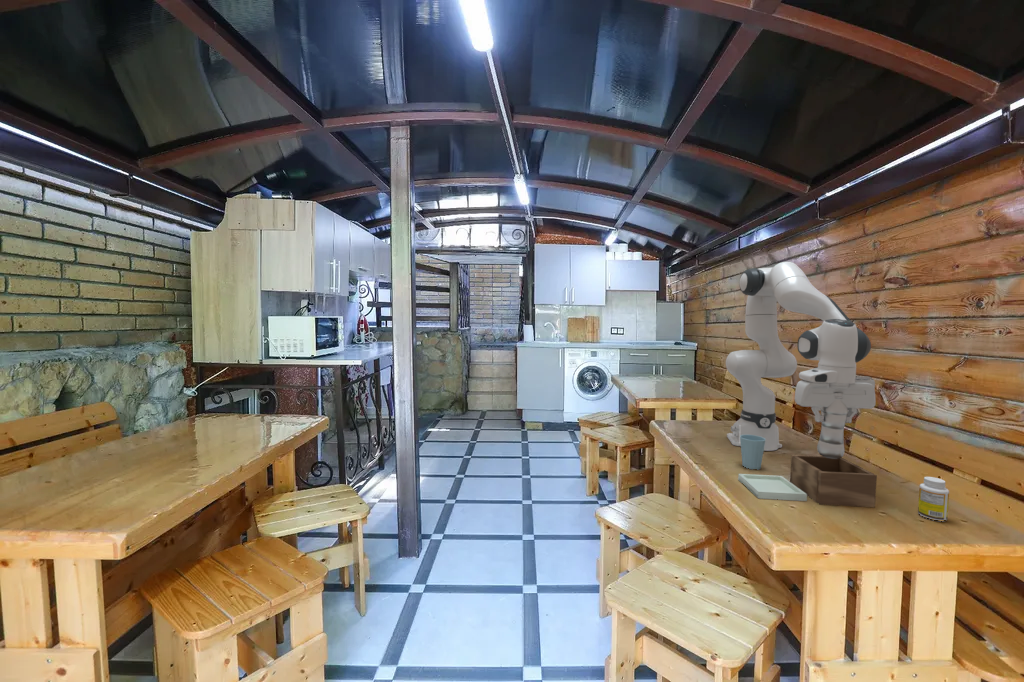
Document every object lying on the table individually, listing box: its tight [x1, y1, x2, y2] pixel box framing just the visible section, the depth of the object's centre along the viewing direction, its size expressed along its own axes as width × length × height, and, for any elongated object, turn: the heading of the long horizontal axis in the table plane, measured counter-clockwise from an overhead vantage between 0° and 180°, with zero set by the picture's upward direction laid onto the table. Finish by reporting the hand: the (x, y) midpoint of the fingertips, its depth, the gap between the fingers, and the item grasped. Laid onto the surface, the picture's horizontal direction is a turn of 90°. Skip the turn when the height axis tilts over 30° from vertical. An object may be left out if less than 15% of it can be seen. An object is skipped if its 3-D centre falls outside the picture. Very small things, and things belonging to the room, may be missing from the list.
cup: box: [740, 435, 766, 470], centre depth 147 cm, size 8×8×10 cm
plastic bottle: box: [816, 392, 849, 459], centre depth 124 cm, size 6×7×20 cm
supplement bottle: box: [917, 476, 950, 521], centre depth 111 cm, size 6×6×10 cm
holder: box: [789, 454, 878, 508], centre depth 125 cm, size 15×14×9 cm
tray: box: [737, 473, 808, 502], centre depth 128 cm, size 14×13×2 cm
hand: (832, 422), depth 124 cm, fingers closed on plastic bottle, 6 cm apart
